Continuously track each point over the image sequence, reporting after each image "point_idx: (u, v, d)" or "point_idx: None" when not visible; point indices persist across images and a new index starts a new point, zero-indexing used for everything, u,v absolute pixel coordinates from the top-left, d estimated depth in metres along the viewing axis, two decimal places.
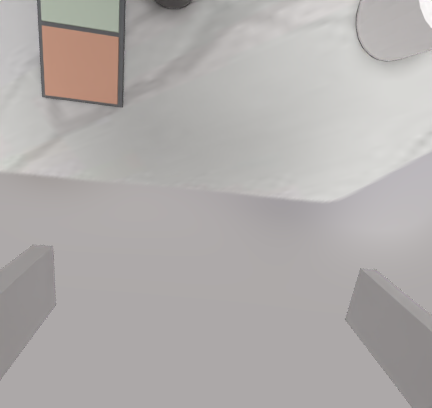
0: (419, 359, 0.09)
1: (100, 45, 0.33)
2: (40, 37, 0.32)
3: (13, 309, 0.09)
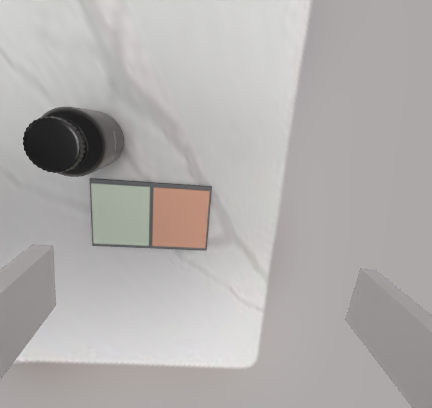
0: (419, 359, 0.09)
1: (162, 202, 0.37)
2: (161, 247, 0.40)
3: (13, 309, 0.09)
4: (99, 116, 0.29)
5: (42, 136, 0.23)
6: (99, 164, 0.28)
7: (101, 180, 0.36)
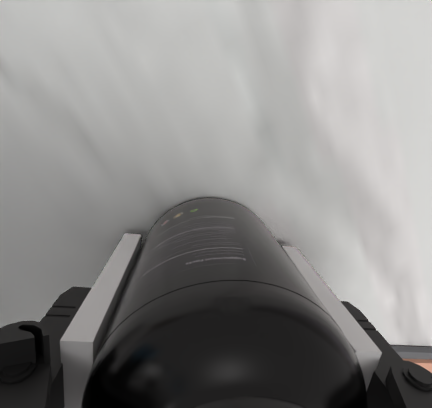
0: None
1: None
2: None
3: None
4: (287, 259, 0.09)
5: None
6: None
7: None
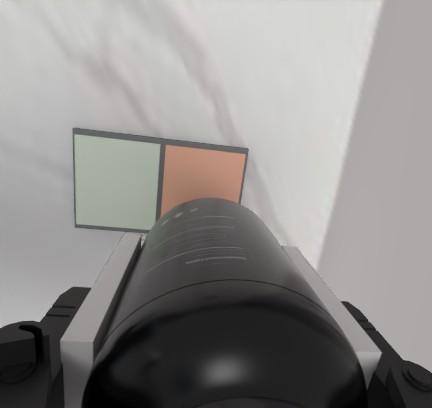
0: None
1: (176, 168, 0.26)
2: None
3: None
4: (288, 259, 0.09)
5: None
6: None
7: (90, 131, 0.25)
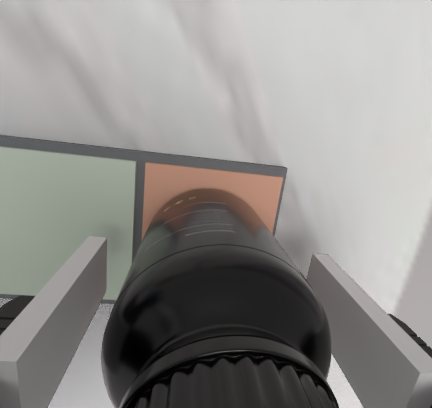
0: (350, 331, 0.10)
1: (165, 201, 0.15)
2: None
3: (84, 290, 0.10)
4: (272, 236, 0.10)
5: None
6: None
7: (10, 139, 0.14)
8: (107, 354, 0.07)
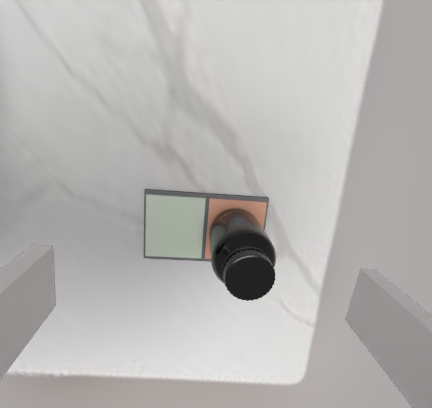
0: (419, 359, 0.09)
1: (217, 214, 0.36)
2: None
3: (13, 309, 0.09)
4: (259, 226, 0.31)
5: (243, 271, 0.25)
6: None
7: (156, 191, 0.35)
8: (215, 256, 0.28)
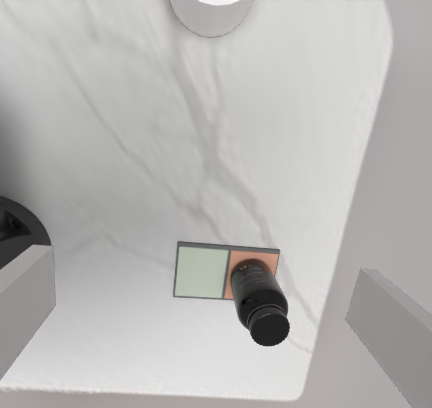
0: (419, 359, 0.09)
1: (237, 263, 0.43)
2: (231, 299, 0.45)
3: (13, 309, 0.09)
4: (274, 280, 0.38)
5: (265, 325, 0.32)
6: None
7: (187, 243, 0.42)
8: (241, 308, 0.35)
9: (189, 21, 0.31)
